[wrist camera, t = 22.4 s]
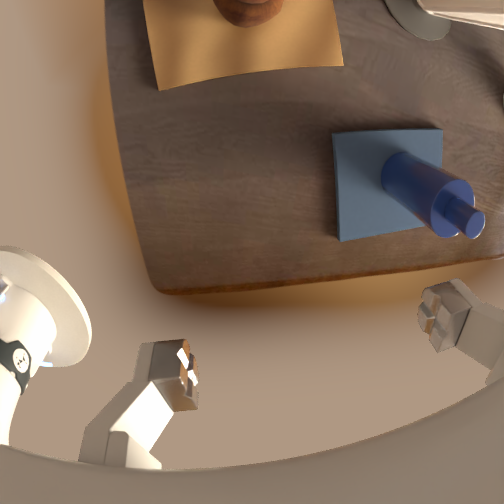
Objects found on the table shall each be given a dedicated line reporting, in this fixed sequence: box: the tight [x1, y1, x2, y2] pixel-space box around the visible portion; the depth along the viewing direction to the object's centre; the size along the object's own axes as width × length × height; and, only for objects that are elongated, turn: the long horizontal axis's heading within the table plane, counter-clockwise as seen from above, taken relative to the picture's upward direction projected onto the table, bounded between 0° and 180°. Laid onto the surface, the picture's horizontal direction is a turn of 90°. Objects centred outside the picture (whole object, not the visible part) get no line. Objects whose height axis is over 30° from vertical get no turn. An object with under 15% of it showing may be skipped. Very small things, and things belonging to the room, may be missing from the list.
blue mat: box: [332, 128, 443, 242], centre depth 35 cm, size 16×14×1 cm
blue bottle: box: [381, 152, 485, 239], centre depth 28 cm, size 6×6×15 cm
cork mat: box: [143, 0, 343, 91], centre depth 24 cm, size 20×16×1 cm
